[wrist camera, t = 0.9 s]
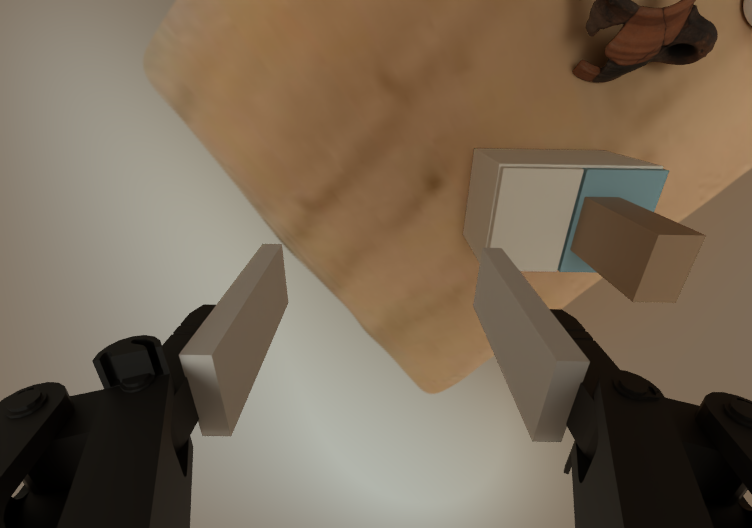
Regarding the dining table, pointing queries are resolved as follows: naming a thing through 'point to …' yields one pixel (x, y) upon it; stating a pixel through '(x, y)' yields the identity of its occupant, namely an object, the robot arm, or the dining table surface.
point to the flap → (629, 235)
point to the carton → (529, 200)
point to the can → (748, 10)
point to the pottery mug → (647, 37)
